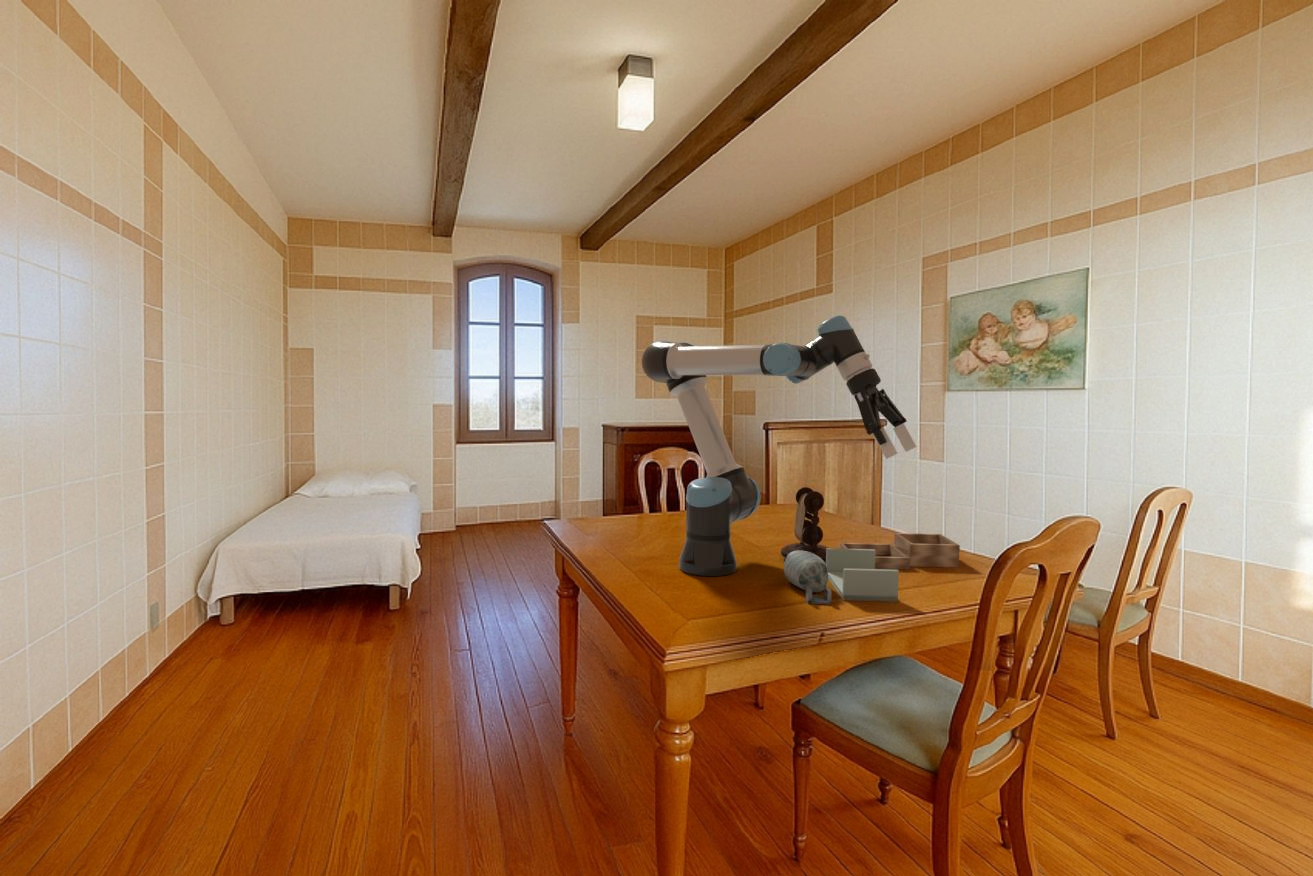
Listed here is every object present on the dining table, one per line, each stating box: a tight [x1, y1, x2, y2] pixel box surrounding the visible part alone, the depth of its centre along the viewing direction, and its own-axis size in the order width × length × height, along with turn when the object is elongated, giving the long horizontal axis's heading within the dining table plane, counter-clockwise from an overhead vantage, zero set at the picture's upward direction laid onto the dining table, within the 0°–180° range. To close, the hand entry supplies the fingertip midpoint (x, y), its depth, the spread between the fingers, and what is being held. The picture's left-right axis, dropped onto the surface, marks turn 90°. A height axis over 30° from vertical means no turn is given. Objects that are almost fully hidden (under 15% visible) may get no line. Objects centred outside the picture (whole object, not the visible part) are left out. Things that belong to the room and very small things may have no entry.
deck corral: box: [838, 542, 911, 570], centre depth 175 cm, size 15×15×3 cm
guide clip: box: [805, 586, 832, 605], centre depth 141 cm, size 5×3×3 cm, turn 87°
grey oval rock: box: [783, 550, 829, 593], centre depth 152 cm, size 14×10×10 cm
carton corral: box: [893, 532, 961, 568], centre depth 176 cm, size 13×13×6 cm
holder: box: [825, 547, 900, 603], centre depth 151 cm, size 12×19×7 cm, turn 177°
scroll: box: [780, 486, 829, 563], centre depth 174 cm, size 15×15×20 cm
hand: (902, 452), depth 149 cm, fingers open, 13 cm apart
